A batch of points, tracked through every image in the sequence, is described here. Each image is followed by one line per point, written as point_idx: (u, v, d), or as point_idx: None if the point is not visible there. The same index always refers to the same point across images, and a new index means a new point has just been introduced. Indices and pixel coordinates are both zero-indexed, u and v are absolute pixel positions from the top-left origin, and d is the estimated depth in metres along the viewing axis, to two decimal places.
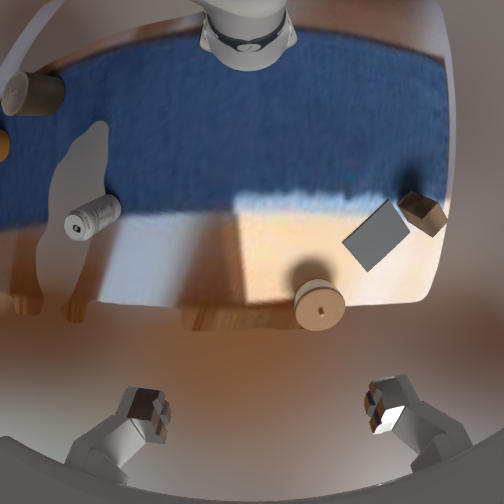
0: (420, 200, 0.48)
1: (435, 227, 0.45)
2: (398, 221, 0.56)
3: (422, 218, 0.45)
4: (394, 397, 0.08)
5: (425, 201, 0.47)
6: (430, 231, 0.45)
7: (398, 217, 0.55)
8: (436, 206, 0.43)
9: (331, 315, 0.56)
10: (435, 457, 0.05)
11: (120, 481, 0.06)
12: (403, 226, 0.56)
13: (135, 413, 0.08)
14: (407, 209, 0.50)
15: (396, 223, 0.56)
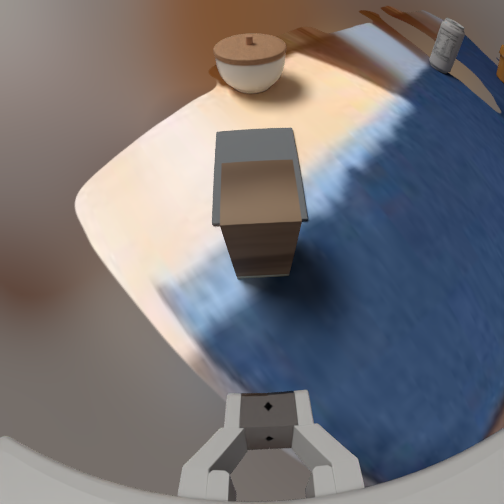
0: None
1: (240, 180, 0.18)
2: None
3: None
4: (284, 414, 0.08)
5: None
6: (242, 164, 0.19)
7: None
8: (294, 209, 0.17)
9: (232, 47, 0.32)
10: (313, 490, 0.05)
11: (234, 498, 0.06)
12: None
13: (248, 421, 0.08)
14: None
15: None
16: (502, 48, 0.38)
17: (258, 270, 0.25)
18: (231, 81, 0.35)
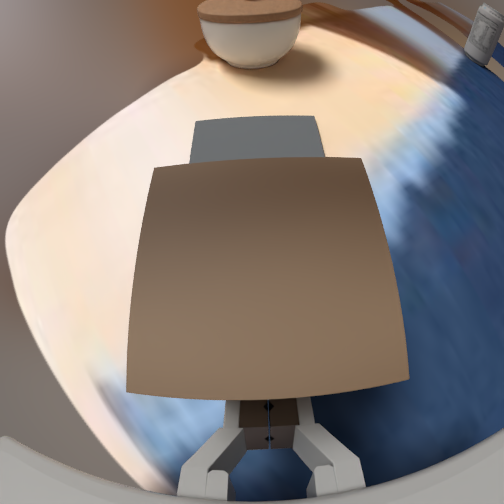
0: None
1: (200, 222, 0.06)
2: None
3: None
4: (285, 414, 0.08)
5: None
6: (212, 170, 0.06)
7: None
8: (389, 337, 0.04)
9: (224, 3, 0.19)
10: (314, 490, 0.05)
11: (233, 498, 0.06)
12: None
13: (247, 421, 0.08)
14: None
15: None
16: None
17: None
18: (222, 49, 0.22)
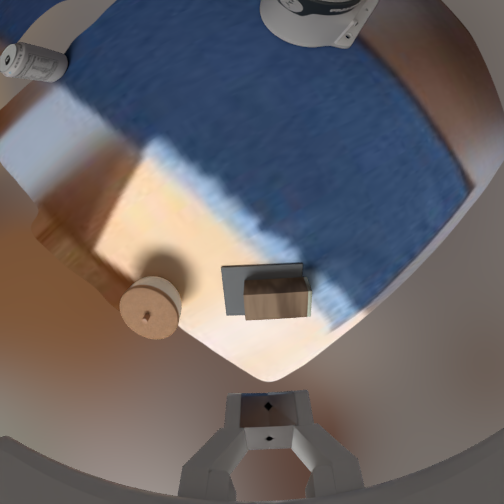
0: (275, 289, 0.45)
1: None
2: None
3: (245, 281, 0.49)
4: (284, 414, 0.08)
5: (266, 290, 0.45)
6: None
7: None
8: (243, 294, 0.45)
9: (156, 328, 0.44)
10: (313, 490, 0.05)
11: (234, 498, 0.06)
12: None
13: (248, 421, 0.08)
14: (280, 279, 0.49)
15: None
16: None
17: (298, 307, 0.45)
18: None
